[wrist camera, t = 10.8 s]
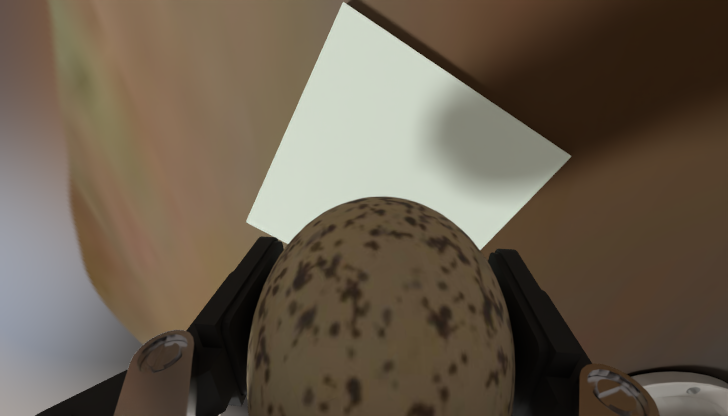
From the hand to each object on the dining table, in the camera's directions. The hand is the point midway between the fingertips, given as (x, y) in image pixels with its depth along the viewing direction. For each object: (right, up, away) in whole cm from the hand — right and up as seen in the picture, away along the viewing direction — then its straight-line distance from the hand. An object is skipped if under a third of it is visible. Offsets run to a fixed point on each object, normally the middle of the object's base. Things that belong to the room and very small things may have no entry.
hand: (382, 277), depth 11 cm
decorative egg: (0, +1, +2) cm, 3 cm away
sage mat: (+1, +4, +8) cm, 9 cm away
